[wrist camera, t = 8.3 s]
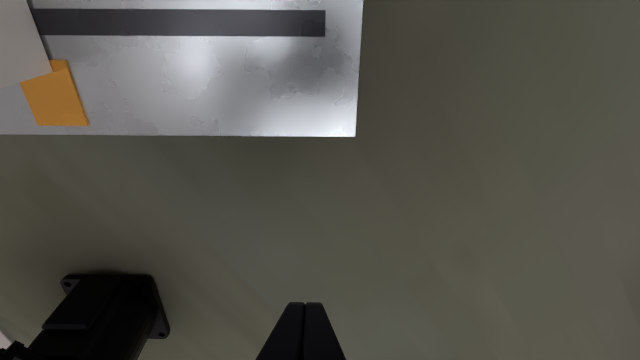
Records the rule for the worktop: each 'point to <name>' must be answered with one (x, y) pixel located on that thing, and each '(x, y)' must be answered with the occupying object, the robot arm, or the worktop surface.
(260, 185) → the worktop surface
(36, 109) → the console
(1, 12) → the fader tab
